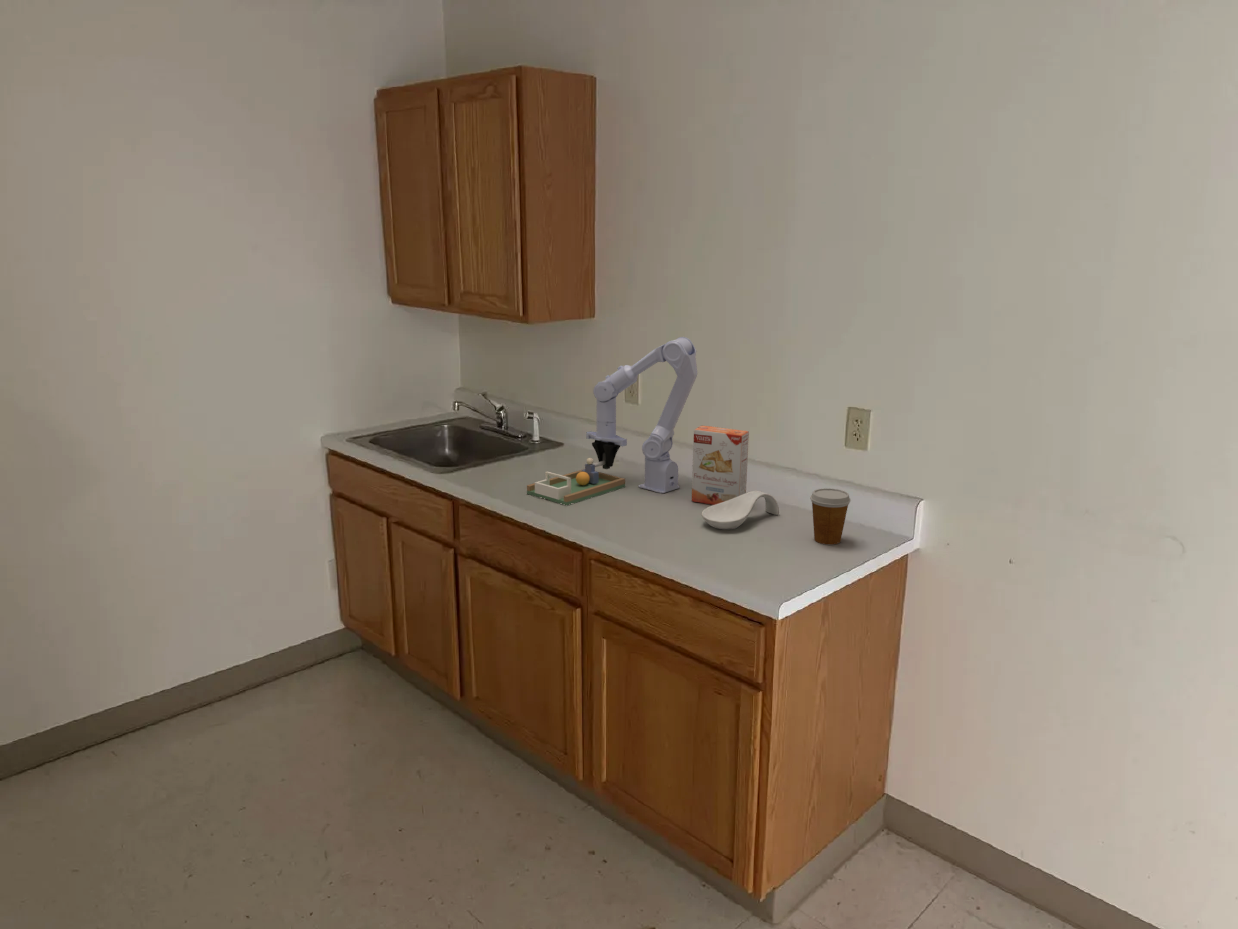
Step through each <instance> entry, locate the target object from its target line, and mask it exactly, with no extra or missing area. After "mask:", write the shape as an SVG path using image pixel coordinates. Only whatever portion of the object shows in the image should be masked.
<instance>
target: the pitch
mask: <svg viewBox="0 0 1238 929" xmlns="http://www.w3.org/2000/svg"><path fill="white" fill-rule="evenodd" d="M584 469H585V468H583V469H580V470H576V471H573V472H569V473H566V474H558V473H554V472H550V471H545V472H544V473H545V474H544V475H545V479H542V480H539V481H535V482H534V483H530V484H527V485H526V494H527V495H529V494H530V496H533V497H537V498H540V497H542V498H541V499H543V498H545V499H544V500H546V499H548V500H547V501H550V500H551V501H550V502H553V503H556V502H557V504H560V503H562V504H561V505H563V504H565V505H564V506H566V505H567V506H570V505H572V504H571V503H574V504H575V503H580V502H583V501H586V500H589V499H591V497H592V498H595V497H598V496H601V495H604V494H608V493H611V492H613V491H617V490H620V489H623V488H626V478H624V477H620V476H616V475H612V474H609V473H606V472H605V473H604V472H601V471H596V470H595V471H596V472H599V483H596V484H592V483H588V484H586V485H579V484H578V483H577V481H576V476H577V474H578V473H579V472H581V470H584ZM550 476H552V478H550ZM610 491H611V492H610ZM607 492H608V493H607ZM588 498H589V499H588ZM585 499H586V500H585ZM569 504H570V505H569Z"/></svg>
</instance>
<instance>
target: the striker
mask: <svg viewBox="0 0 1238 929" xmlns="http://www.w3.org/2000/svg"><path fill="white" fill-rule="evenodd" d="M601 465H602V469H604V470H611V469H610V468H611V467H606V456H605V452H603V461H600V462H599V461H596V462H594V459H593V458H592V457H588V458H586V463H585V464H584V468H583V469H584V470H583V469H580V470H581V472H586V473H588V475H589V477H590V480H589V482H588V483H592V484H596V483H599V472H600V471H597V472H596V468H597V467H600V466H601Z"/></svg>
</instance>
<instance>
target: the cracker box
mask: <svg viewBox="0 0 1238 929" xmlns="http://www.w3.org/2000/svg"><path fill="white" fill-rule="evenodd" d="M749 435H750V433H749V431H748V430H740V429H734V428H726V427H725V428H724V427H718V426H710V425H709V426H708V425H700V426H698V427H697V428H695V429H693V446H692V471H691V472H692V475H691V476H692V477H691V502H694V503H701V504H706V505H710V506H713V505H716V504H719V503H722V502H725V501H728V500H730V499H733V498H735V497H738V496H740V495H743V494H745V493H747V480H748V479H747V478H748V456H749V438H750V437H749Z"/></svg>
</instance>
